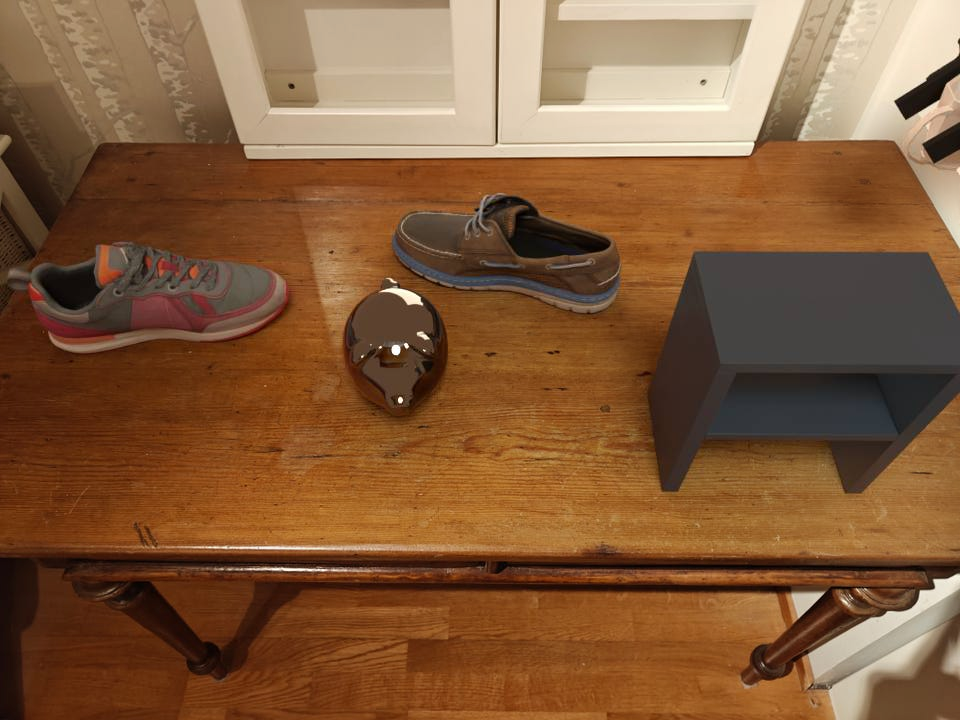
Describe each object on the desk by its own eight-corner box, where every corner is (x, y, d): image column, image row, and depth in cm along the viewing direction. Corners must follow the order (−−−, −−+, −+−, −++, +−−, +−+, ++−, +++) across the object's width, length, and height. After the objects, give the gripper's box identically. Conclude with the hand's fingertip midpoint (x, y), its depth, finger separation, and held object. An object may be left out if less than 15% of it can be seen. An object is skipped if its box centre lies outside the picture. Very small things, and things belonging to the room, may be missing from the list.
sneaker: (296, 331, 83) (271, 260, 74) (48, 372, 80) (-12, 303, 71) (292, 271, 89) (268, 197, 80) (61, 306, 86) (7, 235, 76)
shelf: (827, 394, 77) (928, 251, 60) (861, 493, 70) (986, 365, 53) (646, 393, 78) (693, 251, 60) (662, 491, 71) (720, 363, 53)
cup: (991, 171, 75) (1040, 106, 68) (910, 191, 73) (952, 126, 66) (948, 131, 78) (990, 66, 72) (870, 149, 77) (906, 84, 70)
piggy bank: (353, 444, 74) (333, 383, 65) (350, 334, 83) (333, 267, 74) (457, 432, 75) (453, 370, 66) (444, 325, 84) (438, 257, 75)
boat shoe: (409, 221, 95) (401, 156, 86) (624, 261, 90) (638, 197, 81) (382, 276, 89) (371, 212, 80) (610, 322, 84) (624, 260, 75)
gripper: (1278, 55, 56) (966, 214, 69) (1135, -54, 68) (891, 99, 81) (1272, -12, 52) (940, 171, 65) (1120, -116, 64) (865, 57, 77)
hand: (913, 131), depth 73 cm, fingers closed on cup, 7 cm apart
